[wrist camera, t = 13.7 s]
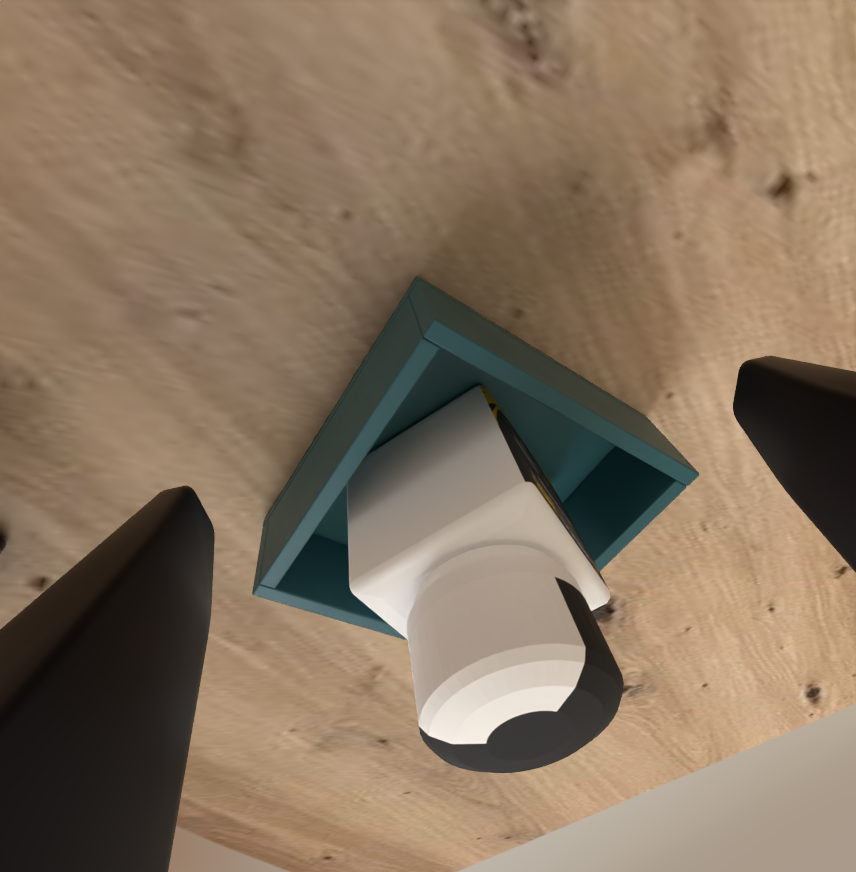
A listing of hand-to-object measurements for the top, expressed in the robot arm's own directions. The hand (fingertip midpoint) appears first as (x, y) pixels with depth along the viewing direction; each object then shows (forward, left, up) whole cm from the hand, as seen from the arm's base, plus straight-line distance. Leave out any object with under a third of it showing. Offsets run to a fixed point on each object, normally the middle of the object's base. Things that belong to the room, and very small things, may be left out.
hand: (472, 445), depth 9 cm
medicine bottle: (-6, -9, -13) cm, 16 cm away
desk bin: (-5, -9, -13) cm, 17 cm away
